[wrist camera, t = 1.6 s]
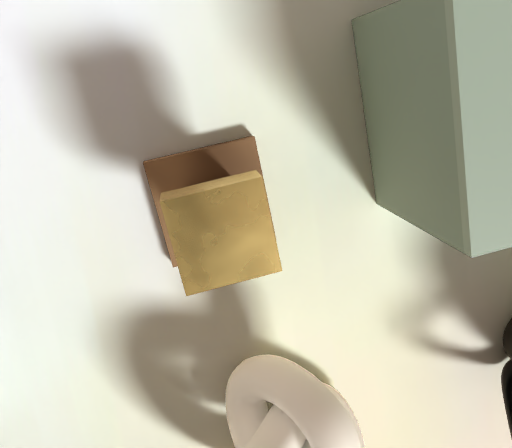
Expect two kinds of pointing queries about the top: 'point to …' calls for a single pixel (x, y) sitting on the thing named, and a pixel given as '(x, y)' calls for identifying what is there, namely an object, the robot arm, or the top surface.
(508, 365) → the mug
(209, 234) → the panel
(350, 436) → the white knot sculpture
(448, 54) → the box
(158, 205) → the token stand
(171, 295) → the top surface
